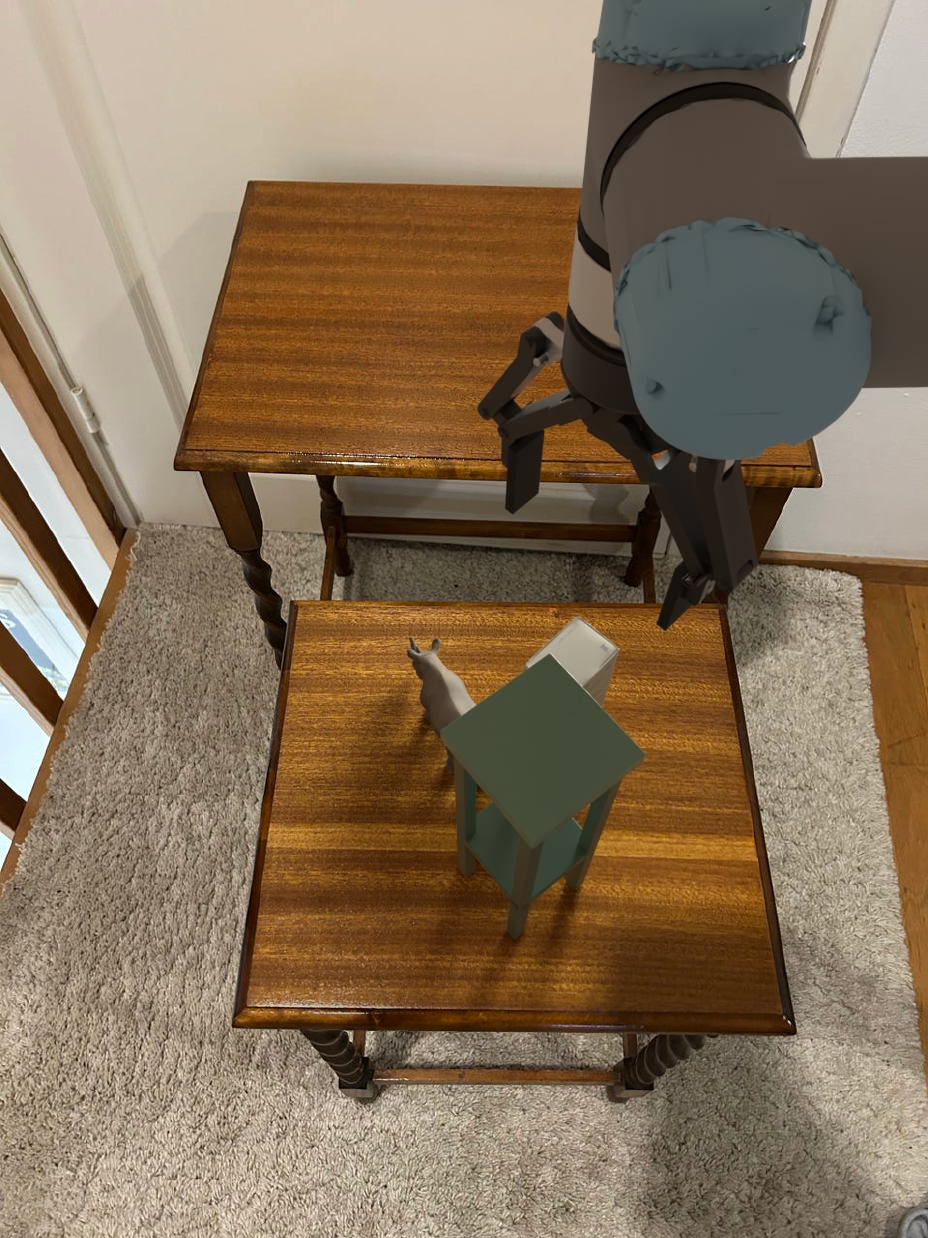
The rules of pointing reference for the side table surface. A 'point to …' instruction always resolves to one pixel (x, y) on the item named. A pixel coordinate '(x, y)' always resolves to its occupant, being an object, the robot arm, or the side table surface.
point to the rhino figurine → (439, 691)
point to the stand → (524, 848)
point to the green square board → (541, 749)
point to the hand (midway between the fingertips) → (594, 556)
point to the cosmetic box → (583, 656)
